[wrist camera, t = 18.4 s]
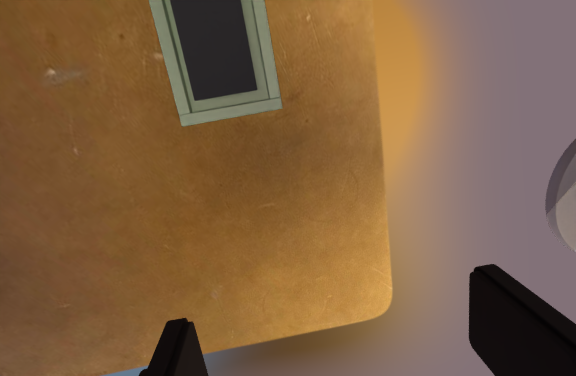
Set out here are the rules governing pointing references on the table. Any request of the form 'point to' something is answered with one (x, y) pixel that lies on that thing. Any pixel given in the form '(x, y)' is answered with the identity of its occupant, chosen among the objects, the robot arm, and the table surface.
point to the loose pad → (214, 47)
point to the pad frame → (227, 105)
